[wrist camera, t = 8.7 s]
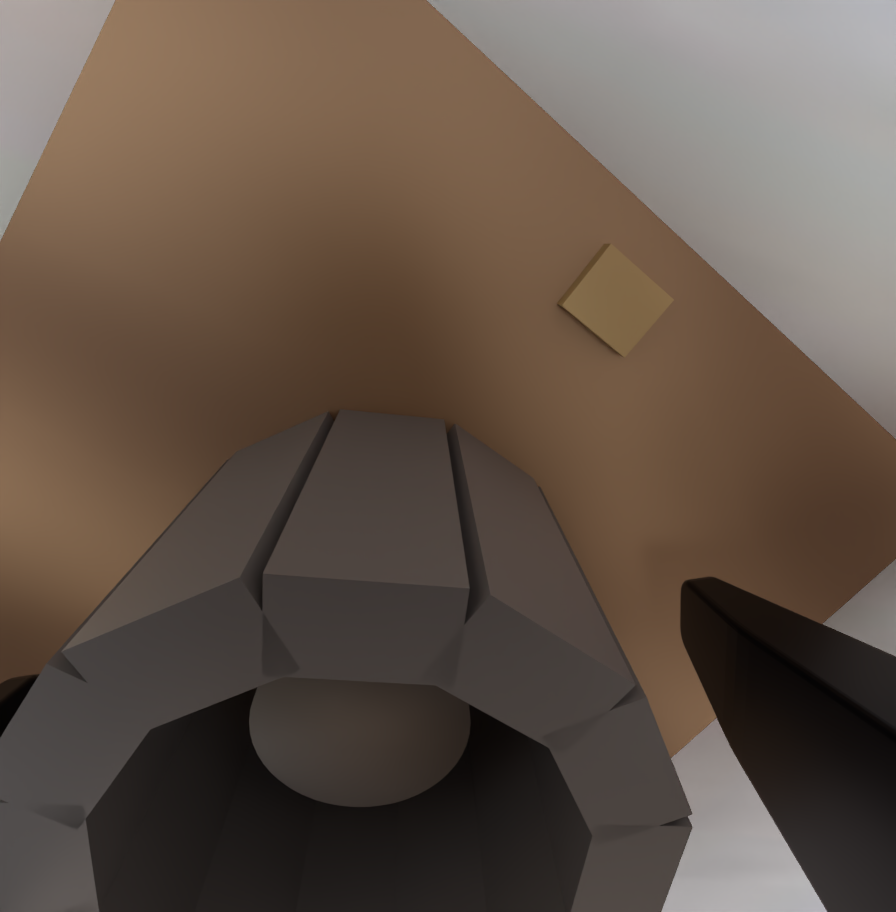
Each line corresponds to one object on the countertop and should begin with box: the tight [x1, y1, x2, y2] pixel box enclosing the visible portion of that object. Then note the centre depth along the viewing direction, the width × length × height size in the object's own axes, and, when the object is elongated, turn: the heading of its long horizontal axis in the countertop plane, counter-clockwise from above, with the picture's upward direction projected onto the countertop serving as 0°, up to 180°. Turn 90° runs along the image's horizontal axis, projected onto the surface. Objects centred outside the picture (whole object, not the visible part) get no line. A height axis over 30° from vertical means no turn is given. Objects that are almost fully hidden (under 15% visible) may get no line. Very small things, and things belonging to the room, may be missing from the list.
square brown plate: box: [0, 0, 896, 807], centre depth 9 cm, size 14×14×4 cm
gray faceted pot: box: [0, 409, 692, 912], centre depth 7 cm, size 6×7×5 cm
